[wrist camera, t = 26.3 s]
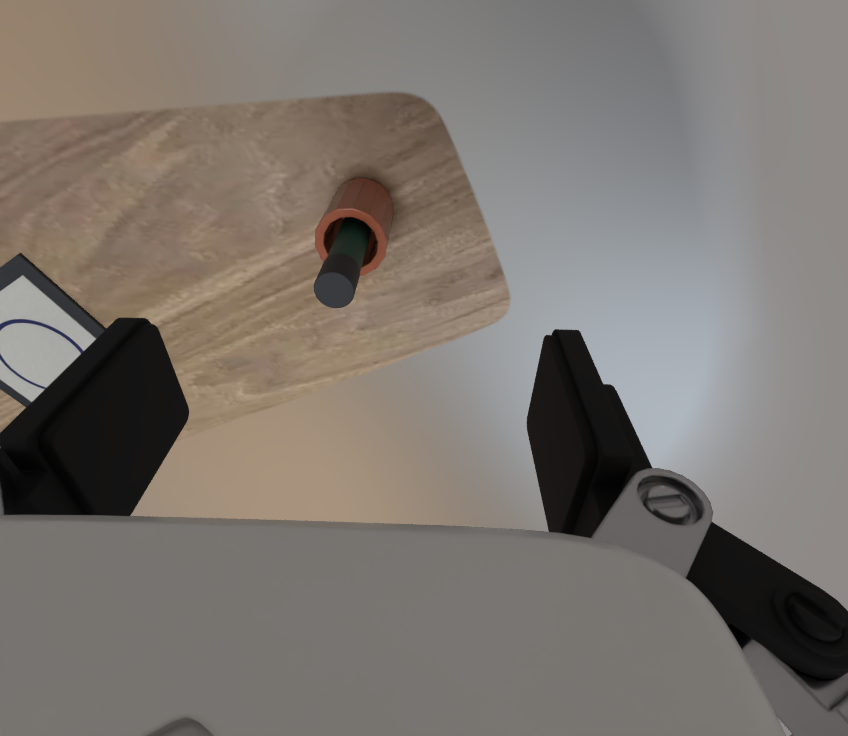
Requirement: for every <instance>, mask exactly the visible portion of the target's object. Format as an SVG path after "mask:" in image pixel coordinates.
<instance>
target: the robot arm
mask: <svg viewBox="0 0 848 736" xmlns="http://www.w3.org/2000/svg"><path fill="white" fill-rule="evenodd" d="M188 416H189V408H188V405H187V402H186V400H185V397H184V394H183V392H182V389H181V387H180V384H179V381H178V379H177V376H176V374H175V371H174V368H173V366H172V363H171V361H170V358H169V355H168V353H167V350H166V348H165V345H164V342H163V340H162V337H161V335H160V332H159V330H158V328H157V327H156V326H155V325H153V324H151V323H150V322H149V321H148V320H147V319H145V318H118V319H116V320H115V321H114V322H113V323H112V324H111V325H110V326H109V327H108V328H107V329H106V330H105V331H104V332H103V333H102V334H101V335H100V336H99V337H98V338H97V339H96V340H95V341H94V342H93V343H92V344H91V345H90V346H89V347H88V348H87V349H86V350H84V351H83V352H82V353H81V354H80V355H79V356H78V357H77V358H76V359H75V360H74V361H73V362H72V363H71V364H70V365H69V366H68V367H67V368H66V369H65V370H64V371H63V372H62V373H61V374H60V375H59V376H58V377H57V378H56V379H55V380H54V381H53V382H52V383H51V384H50V385H49V386H48V387H47V388H46V389H45V390H44V391H43V392H42V393H41V394H40V395H39V396H38V397H37V398H36V399H35V400H33V401H32V402H31V403H30V404H29V405H28V406H27V407H26V408H25V409H24V410H23V411H22V412H21V413H20V414H19V415H18V416H17V417H16V418H15V419H14V420H13V421H12V422H11V423H10V424H9V425H8V426H7V427H6V428H5V429H4V430H3V431H2V432H1V433H0V446H1V448H0V736H786V735H785V733H784V731H783V728H782V726H781V724H780V722H779V720H778V718H779V719H780V720H781V722H782V723H783V724H784V725H785V726H786V727H787V728H788V729H789V730H790V732H791V733H792V735H790V736H848V611H847V610H846V609H845V608H844V607H843V606H842V605H841V604H840V603H839V602H838V601H837V600H836V599H835V598H833V597H832V596H830V595H829V594H828V593H826V592H825V591H823V590H822V589H820V588H819V587H817V586H816V585H814V584H812V583H811V582H809V581H807V580H806V579H804V578H803V577H801V576H799V575H798V574H796V573H794V572H793V571H791V570H790V569H788V568H786V567H785V566H783V565H781V564H780V563H778V562H776V561H775V560H773V559H771V558H770V557H768V556H767V555H765V554H763V553H762V552H760V551H758V550H757V549H755V548H753V547H752V546H750V545H749V544H747V543H745V542H744V541H742V540H741V539H739V538H737V537H736V536H734V535H732V534H731V533H729V532H727V531H726V530H724V529H723V528H721V527H719V526H717V525H716V524H714V523H713V522H711V521H712V515H713V511H712V507H711V503H710V501H709V499H708V498H707V496H706V495H705V493H704V492H703V491H702V490H701V489H700V488H699V487H698V486H697V485H696V484H695V483H693V482H692V481H690V480H689V479H687V478H686V477H684V476H682V475H680V474H677V473H675V472H672V471H670V470H664V469H659V468H652V466H651V464H650V462H649V460H648V458H647V455H646V453H645V451H644V449H643V447H642V445H641V443H640V441H639V438H638V436H637V434H636V432H635V430H634V428H633V426H632V423H631V421H630V419H629V417H628V415H627V413H626V411H625V408H624V406H623V404H622V402H621V400H620V398H619V395H618V393H617V391H616V390H615V388H614V387H613V386H612V385H608V384H607V385H606V384H605V385H604V384H603V383H602V381H601V378H600V376H599V374H598V371H597V369H596V367H595V365H594V363H593V360H592V358H591V355H590V353H589V351H588V349H587V346H586V344H585V342H584V340H583V337H582V335H581V333H580V331H579V330H557V329H555V330H554V331H553V333H552V335H546V336H545V337H544V340H543V344H542V349H541V354H540V359H539V364H538V369H537V373H536V378H535V383H534V388H533V393H532V397H531V402H530V407H529V411H528V416H527V431H528V436H529V440H530V445H531V450H532V454H533V459H534V464H535V469H536V473H537V478H538V483H539V487H540V492H541V497H542V501H543V506H544V511H545V515H546V520H547V525H548V530H549V532H544V531H534V530H522V529H503V528H484V527H464V526H442V525H441V526H440V525H413V524H384V523H356V522H354V523H353V522H325V521H291V520H290V521H289V520H258V519H222V518H185V517H144V516H130V515H131V514H132V512H133V510H134V509H135V507H136V505H137V504H138V502H139V500H140V499H141V497H142V495H143V494H144V492H145V490H146V489H147V487H148V485H149V484H150V482H151V480H152V479H153V477H154V475H155V474H156V472H157V470H158V469H159V467H160V465H161V464H162V462H163V460H164V458H165V457H166V455H167V454H168V452H169V450H170V449H171V447H172V445H173V444H174V442H175V440H176V439H177V437H178V435H179V434H180V432H181V430H182V429H183V427H184V425H185V424H186V422H187V420H188ZM777 717H778V718H777Z"/></svg>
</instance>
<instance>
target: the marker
mask: <svg viewBox="0 0 848 736" xmlns="http://www.w3.org/2000/svg"><path fill="white" fill-rule="evenodd" d="M371 232H372V229H371V228H370V227H369V226H368V225H367V224H366V223H365V222H364V221H362V220H359V219H357V218H354V217H344V220H343V222H342V224H341V227H340V229H339V231H338V233H337V236H336V238H335V240H334V242H333V245H332V247H331V249H330V251H329V254H328V256H327V258H326V260H325V261H324V263H323V265H322V267H321V270H320V272H319V274H318V276H317V279H316V281H315V284H314V292H315V295H316V297H317V298H318V300H319V301H320V302H321V303H323V304H324V305H326V306H328V307H332V308H341V307H344V306H346V305H348V304H349V303H350V302H351V301H352V300H353V297H354V294H355V290H356V287H357V283H358V280H359V276H360V270H361V267H362V263H363V260H364V256H365V253H366V249H367V246H368V243H369V239H370V236H371Z"/></svg>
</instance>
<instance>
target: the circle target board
mask: <svg viewBox="0 0 848 736" xmlns="http://www.w3.org/2000/svg"><path fill="white" fill-rule="evenodd" d="M105 330H106V329H105V328H104V327H103V326H102V325H101V324H99V323H98V322H97V321H96V320H95V319H94V318H93V317H92V316H90V315H89V314H88V313H87V312H86V311H85V310H84V309H83V308H81V307H80V306H79V305H78V304H77V303H76V302H75V301H74V300H72V299H71V298H70V297H69V296H68V295H67V294H66V293H65V292H63V291H62V290H61V289H60V288H59V287H58V286H57V285H56V284H54V283H53V282H52V281H51V280H50V279H49V278H48V277H46V276H45V275H44V274H43V273H42V272H41V271H40V270H39V269H37V268H36V267H35V266H34V265H33V264H32V263H31V262H30V261H28V260H27V259H26V258H25V257H24V256H23V255H22V254H18V255H17V256H16V257H14V258H13V259H11V260H10V261H9V262H7V263H6V264H5V265H3V266H2V267H1V268H0V389H1V390H3V391H4V392H5V393H7V394H8V395H10V396H11V397H12V398H14V399H15V400H17V401H18V402H20V403H21V404H22V405H24V406H25V407H27V406H28V405H29V404H30V403H31V402H32V401H33V400H35V399H36V398H37V397H38V396H39V395H40V394H41V393H42V392H43V391H44V390H45V389H46V388H47V387H48V386H49V385H50V384H51V383H52V382H53V381H54V380H55V379H56V378H57V377H58V376H59V375H60V374H61V373H62V372H63V371H64V370H65V369H66V368H67V367H68V366H69V365H70V364H71V363H72V362H73V361H74V360H75V359H76V358H77V357H78V356H79V355H80V354H81V353H82V352H83V351H84V350H86V349H87V348H88V347H89V346H90V345H91V344H92V343H93V342H94V341H95V340H96V339H97V338H98V337H99V336H100V335H101V334H102V333H103V332H104V331H105Z"/></svg>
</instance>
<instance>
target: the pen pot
mask: <svg viewBox="0 0 848 736" xmlns="http://www.w3.org/2000/svg"><path fill="white" fill-rule="evenodd" d="M344 217H354V218H357V219H359V220H362V221H364V222H365V223H366V224H367V225H368V226H369V227H370V228H371V229H372V232H371V236H370V239H369V243H368V246H367V249H366V253H365V256H364V260H363V263H362V267H361V270H360V276H361V275H365V274H367V273H369V272H371V271H373V270H375V269H376V268H377V267H378V266H379V264H380V263H381V262H382V260H383V259H384V257H385V254H386V249H387V244H388V239H389V234H390V230H391V225H392V218H393V203H392V200H391V198H390V196H389V194H388V192H387V191H386V190H385V189H384V188H383V187H382V186H381V185H380V184H379V183H377V182H375V181H373V180H370V179H367V178H355V179H351V180H349V181H347V182H345V183H344V184H342V185H341V186H340V187H339V188H338V190H337V192H336V194H335V195H334V197H333V199H332V201H331V202H330V204H329V206H328V208H327V210H326V212H325V213H324V215H323V217H322V219H321V221H320V222H319V224H318V226H317V228H316V231H315V246H316V249H317V251H318V253H319V255H320V257H321V259H322V261H325V260H326V258H327V256H328V254H329V251H330V249H331V247H332V245H333V242H334V240H335V238H336V236H337V233H338V231H339V229H340V227H341V224H342V222H343V220H344Z"/></svg>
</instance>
